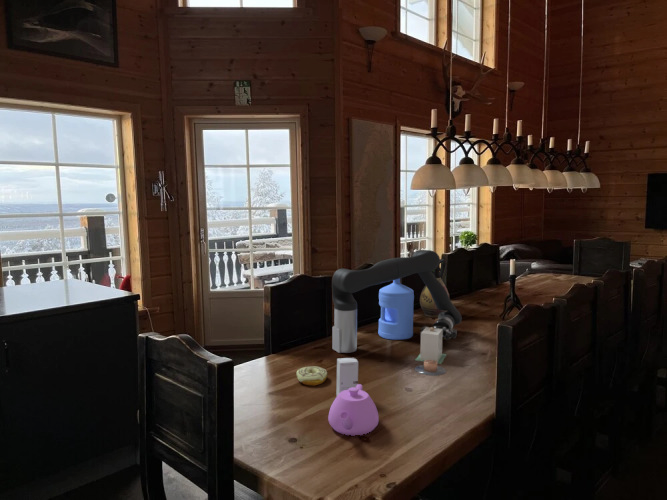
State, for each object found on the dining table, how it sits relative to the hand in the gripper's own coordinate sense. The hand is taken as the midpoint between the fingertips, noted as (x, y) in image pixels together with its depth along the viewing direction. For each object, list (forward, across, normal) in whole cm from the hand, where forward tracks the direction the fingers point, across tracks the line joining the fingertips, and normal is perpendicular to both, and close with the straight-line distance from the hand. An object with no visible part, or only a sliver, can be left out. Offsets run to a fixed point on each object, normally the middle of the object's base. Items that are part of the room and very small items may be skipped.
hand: (435, 336), depth 197 cm
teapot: (+73, -8, +7) cm, 74 cm away
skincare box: (+56, -16, +7) cm, 58 cm away
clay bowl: (+22, +3, +6) cm, 23 cm away
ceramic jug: (-61, -12, +6) cm, 63 cm away
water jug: (-16, -21, +7) cm, 28 cm away
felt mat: (+8, 0, +6) cm, 10 cm away
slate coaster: (+22, +3, +6) cm, 23 cm away
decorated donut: (+47, -33, +7) cm, 58 cm away
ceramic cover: (+8, 0, +6) cm, 10 cm away
